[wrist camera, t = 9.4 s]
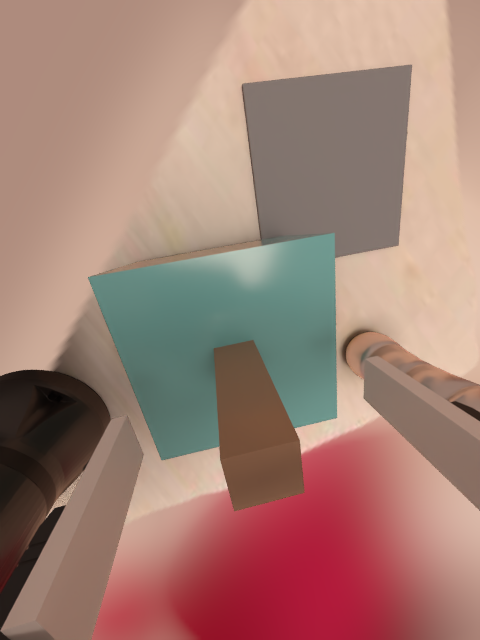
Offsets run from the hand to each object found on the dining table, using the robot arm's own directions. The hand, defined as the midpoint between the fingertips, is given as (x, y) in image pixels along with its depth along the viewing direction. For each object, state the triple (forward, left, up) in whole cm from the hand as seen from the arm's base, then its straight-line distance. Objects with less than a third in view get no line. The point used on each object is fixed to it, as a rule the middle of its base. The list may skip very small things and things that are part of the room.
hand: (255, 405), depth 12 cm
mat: (+14, +13, -16) cm, 25 cm away
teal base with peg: (0, 0, -16) cm, 16 cm away
